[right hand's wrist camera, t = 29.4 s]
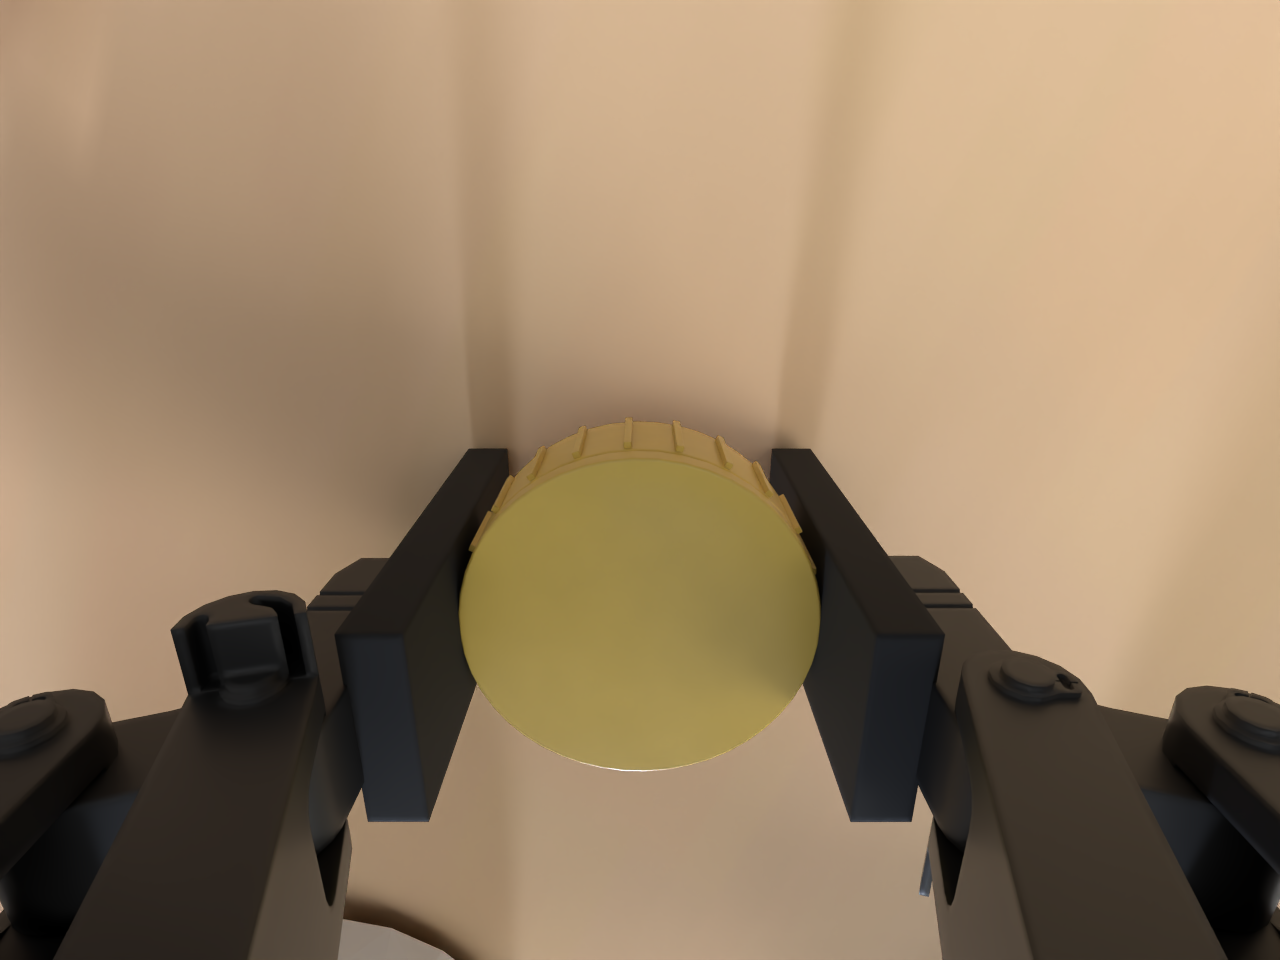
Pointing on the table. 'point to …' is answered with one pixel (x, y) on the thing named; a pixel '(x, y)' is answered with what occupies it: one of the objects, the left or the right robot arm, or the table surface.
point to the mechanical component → (383, 944)
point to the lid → (639, 598)
